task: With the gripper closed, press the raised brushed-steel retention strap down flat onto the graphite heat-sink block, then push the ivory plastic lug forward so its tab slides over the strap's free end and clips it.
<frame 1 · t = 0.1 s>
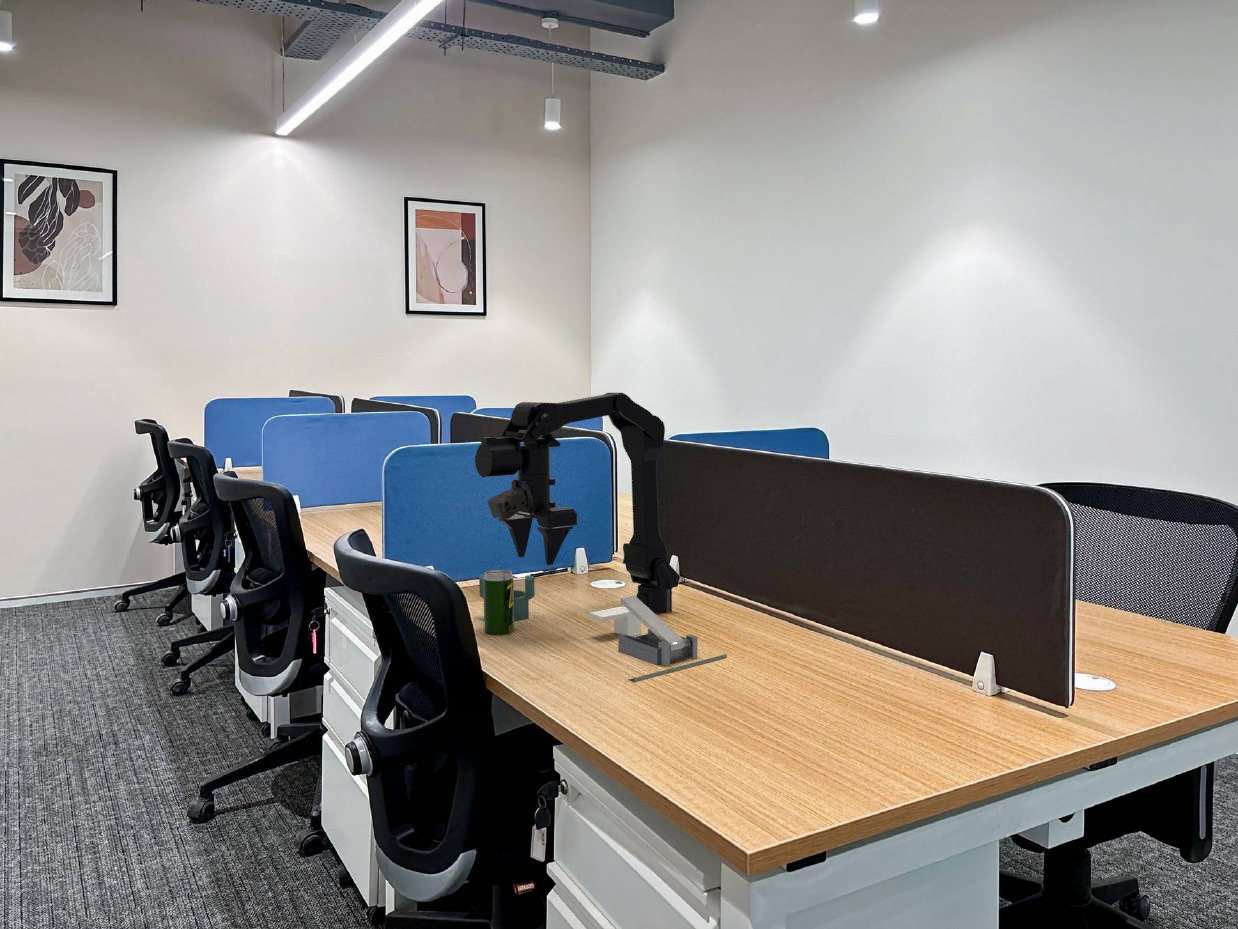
hand: (535, 560, 165), 15 cm above the table, fingers open, 9 cm apart
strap: (653, 622, 155), point 6 cm above the table, hinge at 22.0°
bracket: (508, 620, 182), on the table
lug: (615, 623, 165), point 3 cm above the table, slide at 0.0 cm
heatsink: (655, 660, 155), resting on board
board: (633, 652, 159), on the table
beer can: (499, 638, 169), on the table
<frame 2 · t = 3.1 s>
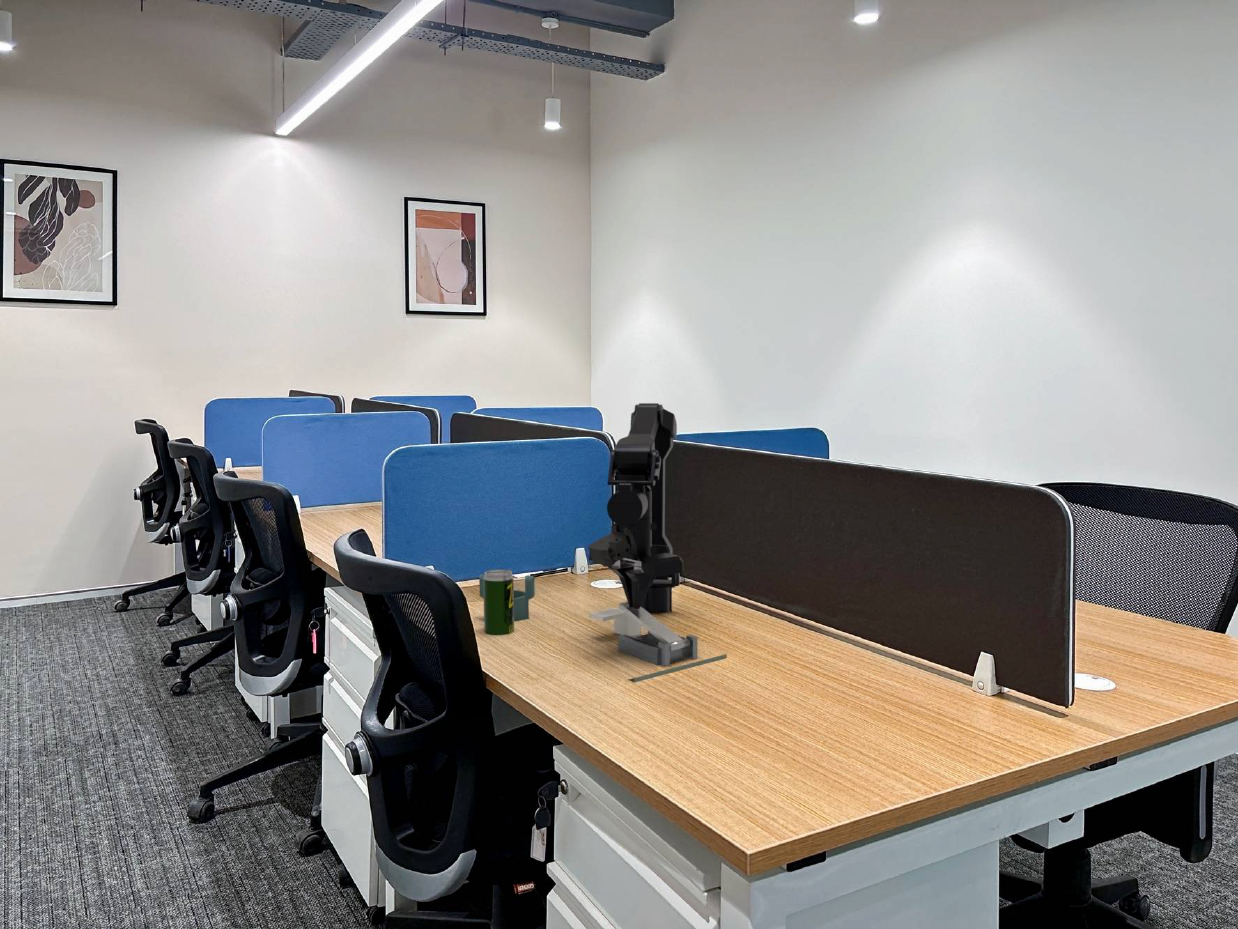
hand: (634, 608, 158), 8 cm above the table, fingers closed
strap: (652, 625, 155), point 6 cm above the table, hinge at 17.6°, touching gripper
everything else where it was.
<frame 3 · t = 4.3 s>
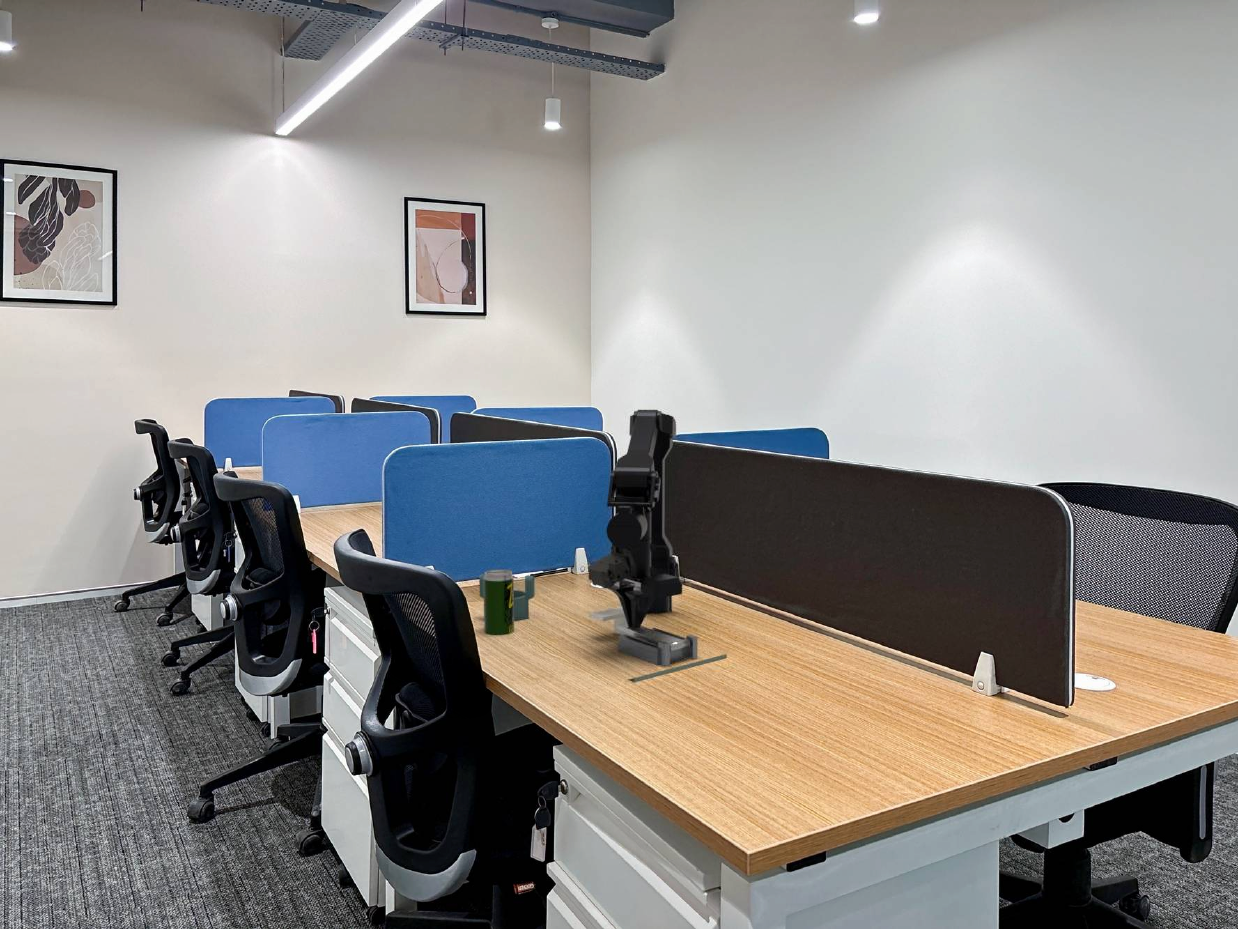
hand: (634, 628, 159), 4 cm above the table, fingers closed, pressing on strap
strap: (651, 635, 155), point 4 cm above the table, hinge at 1.3°, touching gripper
everything else where it was.
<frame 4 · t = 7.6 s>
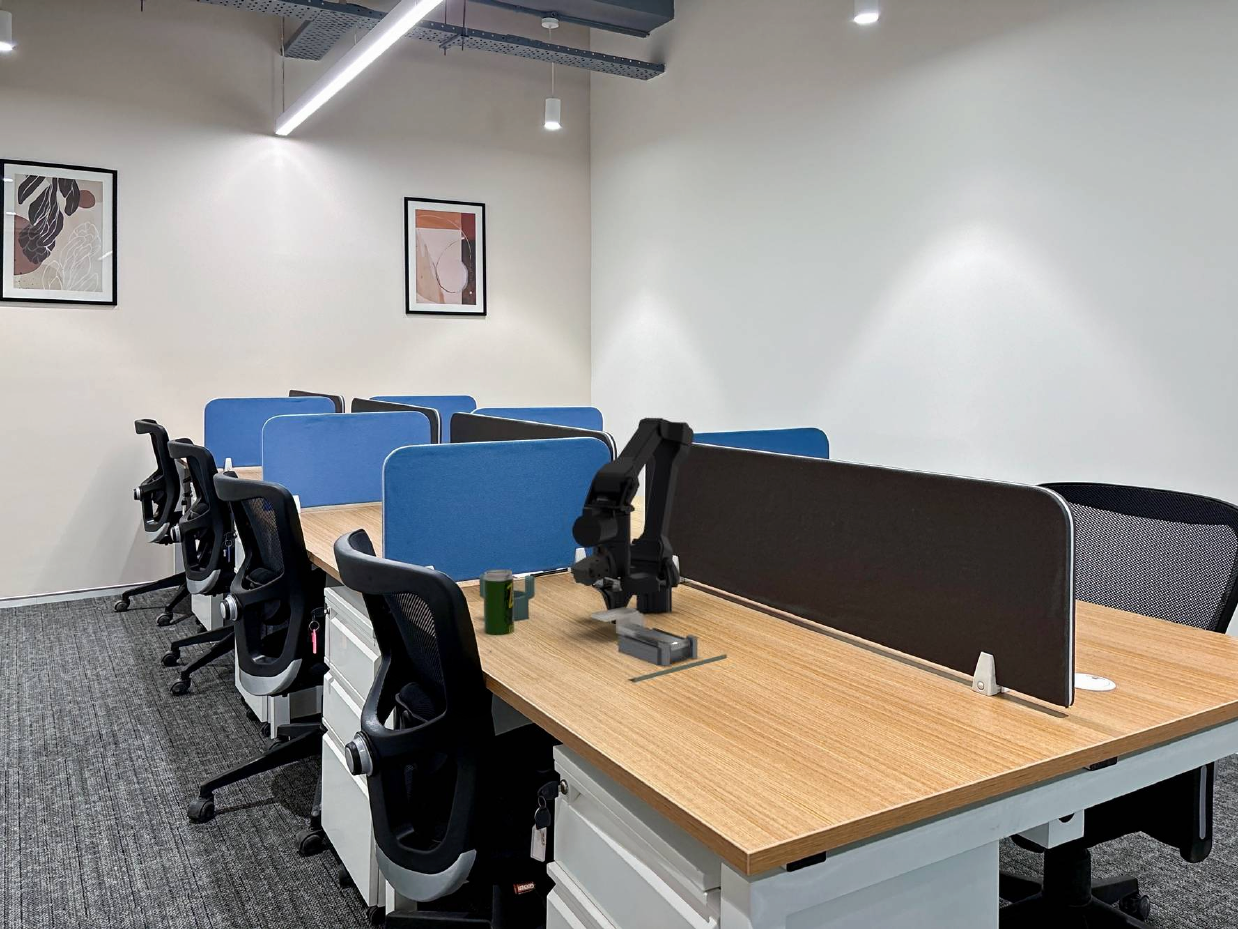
hand: (615, 623, 169), 2 cm above the table, fingers closed
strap: (651, 635, 155), point 4 cm above the table, hinge at 1.2°
lug: (617, 624, 164), point 3 cm above the table, slide at 0.6 cm, touching gripper
everything else where it was.
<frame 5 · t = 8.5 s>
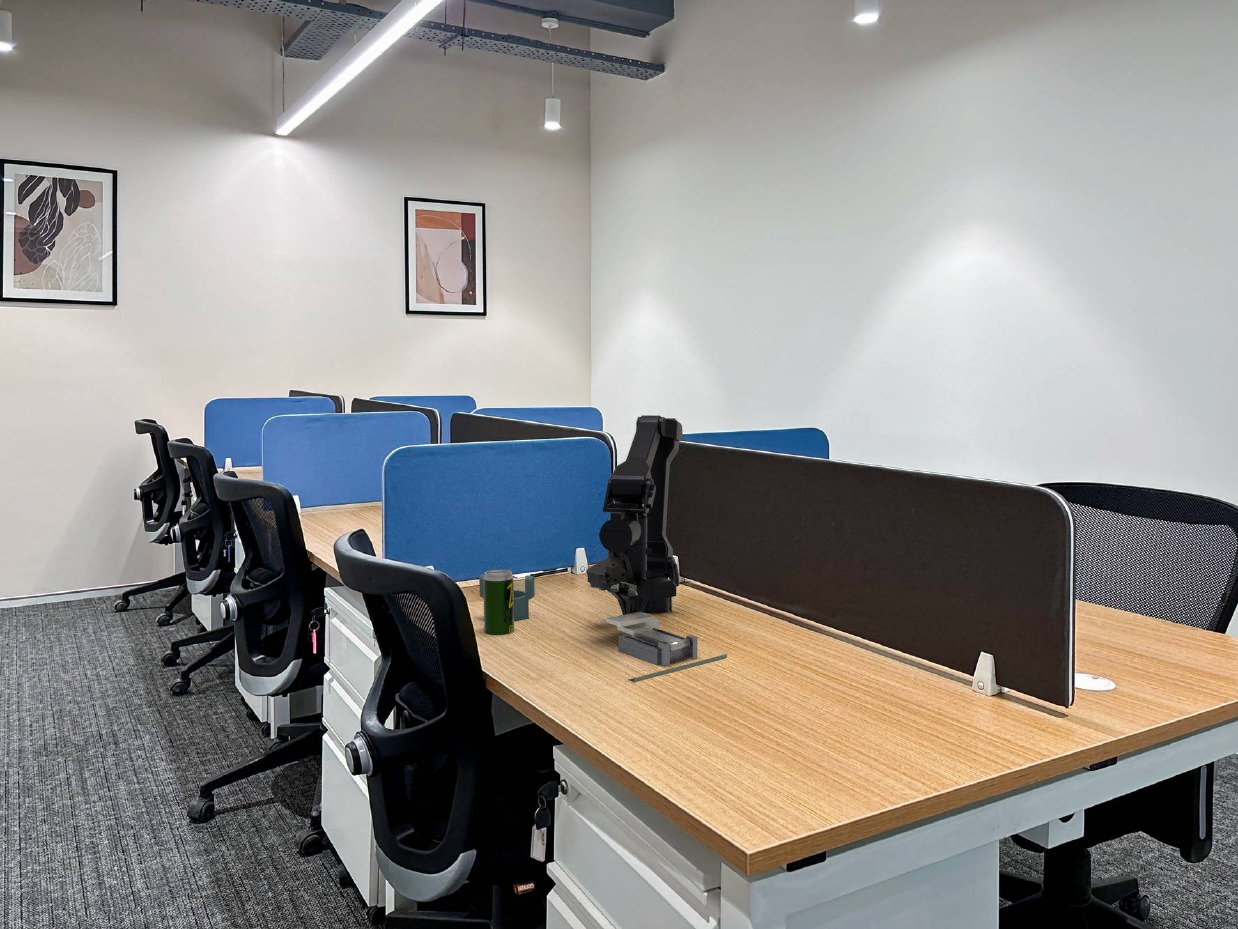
hand: (630, 628, 166), 2 cm above the table, fingers closed
lug: (632, 629, 161), point 3 cm above the table, slide at 4.9 cm, touching gripper
everything else where it was.
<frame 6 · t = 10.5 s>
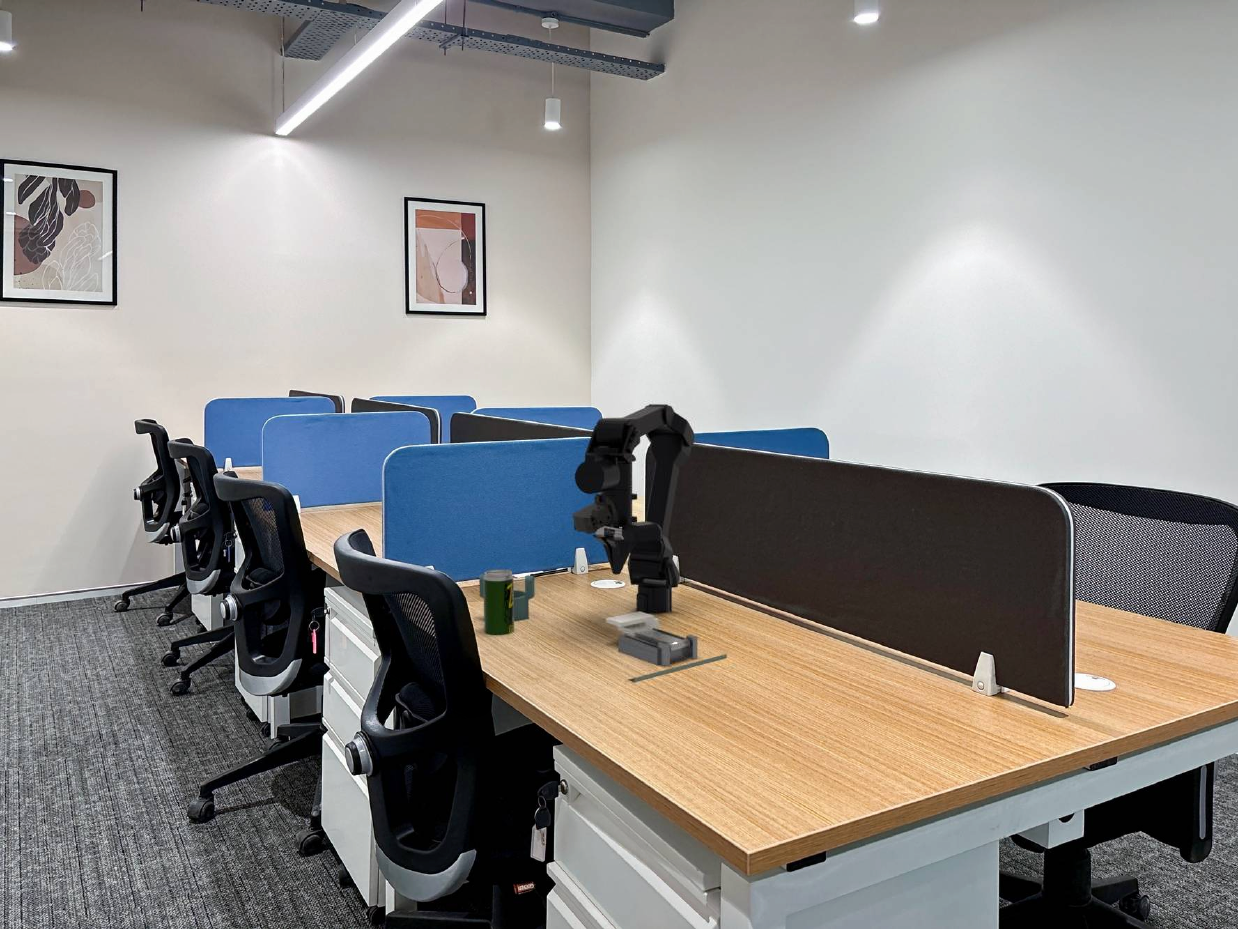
hand: (616, 574, 168), 12 cm above the table, fingers closed
lug: (632, 629, 161), point 3 cm above the table, slide at 4.8 cm
everything else where it was.
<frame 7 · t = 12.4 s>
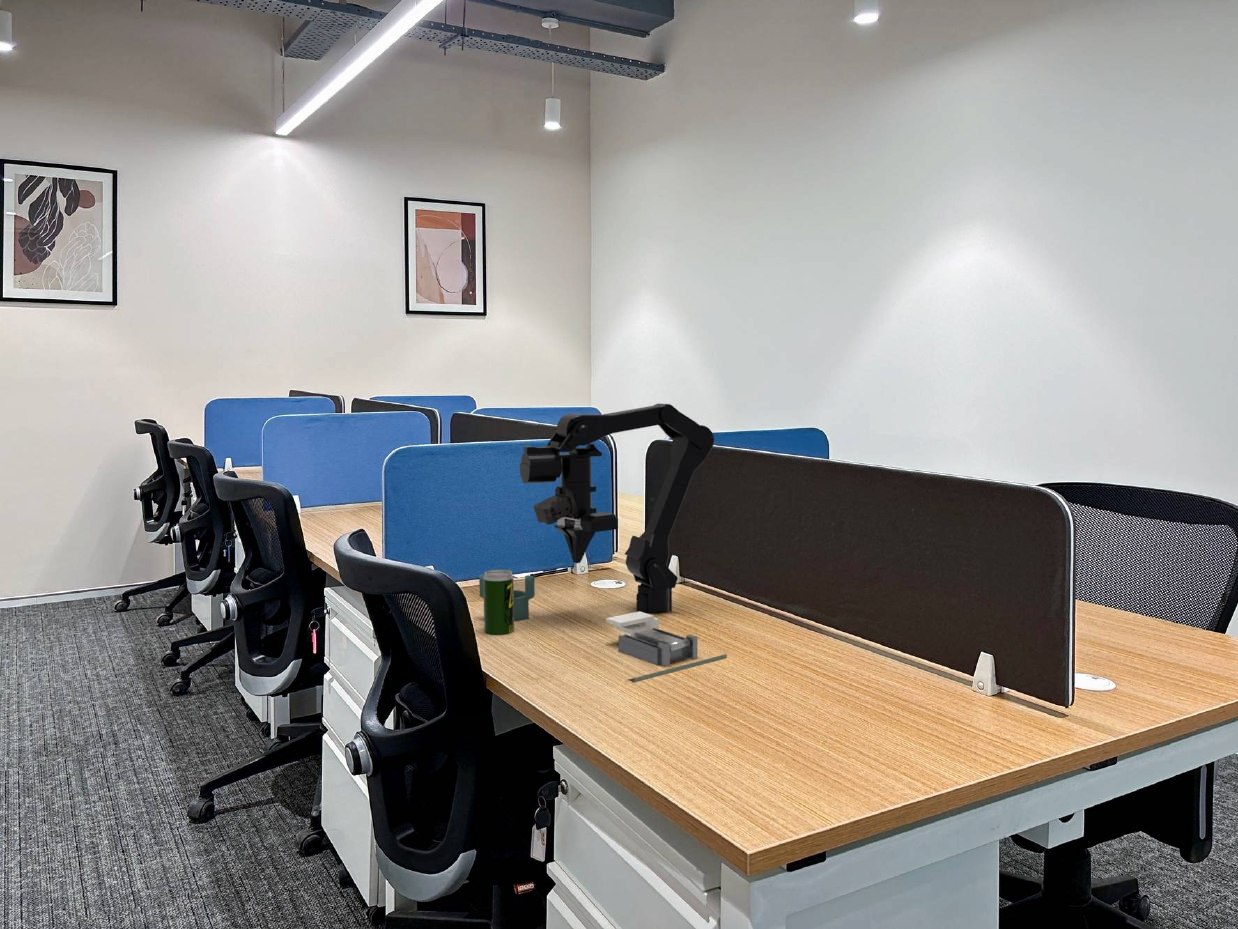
hand: (577, 562, 176), 12 cm above the table, fingers closed
nothing on the table moved.
at the end: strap at +1° (first picture: +22°); lug slide at 4.8 cm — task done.
